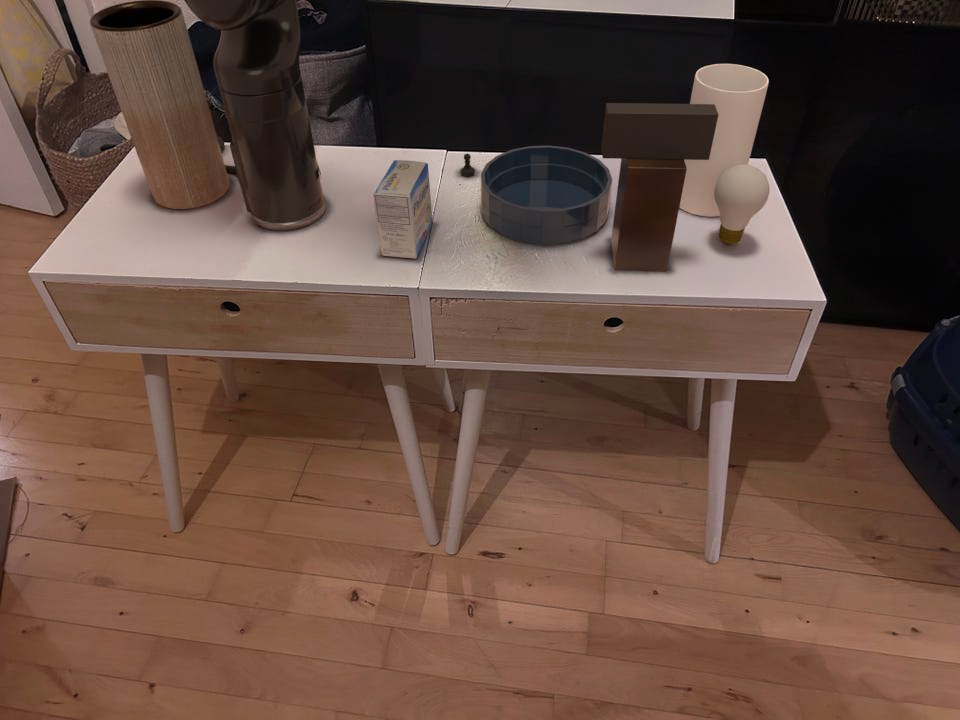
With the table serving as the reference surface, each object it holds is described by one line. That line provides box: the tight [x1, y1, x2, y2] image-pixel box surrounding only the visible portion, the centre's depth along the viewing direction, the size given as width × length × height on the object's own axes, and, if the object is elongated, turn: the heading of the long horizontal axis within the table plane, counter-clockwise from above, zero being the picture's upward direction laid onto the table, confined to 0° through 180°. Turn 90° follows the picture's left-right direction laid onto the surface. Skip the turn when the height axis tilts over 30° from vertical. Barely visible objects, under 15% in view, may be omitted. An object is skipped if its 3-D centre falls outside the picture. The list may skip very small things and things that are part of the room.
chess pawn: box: [459, 153, 476, 178], centre depth 101 cm, size 2×2×3 cm
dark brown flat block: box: [600, 102, 718, 160], centre depth 76 cm, size 11×2×5 cm, turn 86°
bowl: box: [480, 145, 613, 246], centre depth 93 cm, size 16×16×5 cm
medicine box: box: [373, 159, 434, 260], centre depth 87 cm, size 8×4×9 cm, turn 168°
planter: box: [89, 0, 230, 210], centre depth 92 cm, size 10×10×23 cm
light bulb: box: [714, 164, 770, 246], centre depth 85 cm, size 6×6×10 cm
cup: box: [679, 63, 770, 218], centre depth 90 cm, size 8×8×16 cm
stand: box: [610, 159, 687, 272], centre depth 83 cm, size 6×6×13 cm
